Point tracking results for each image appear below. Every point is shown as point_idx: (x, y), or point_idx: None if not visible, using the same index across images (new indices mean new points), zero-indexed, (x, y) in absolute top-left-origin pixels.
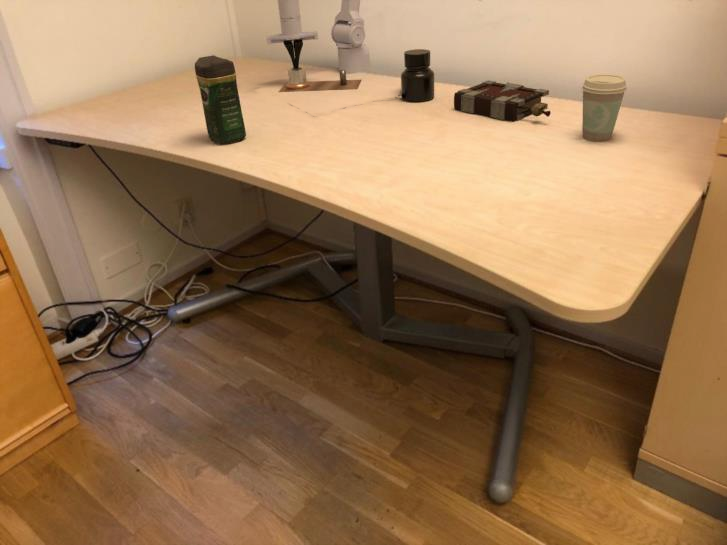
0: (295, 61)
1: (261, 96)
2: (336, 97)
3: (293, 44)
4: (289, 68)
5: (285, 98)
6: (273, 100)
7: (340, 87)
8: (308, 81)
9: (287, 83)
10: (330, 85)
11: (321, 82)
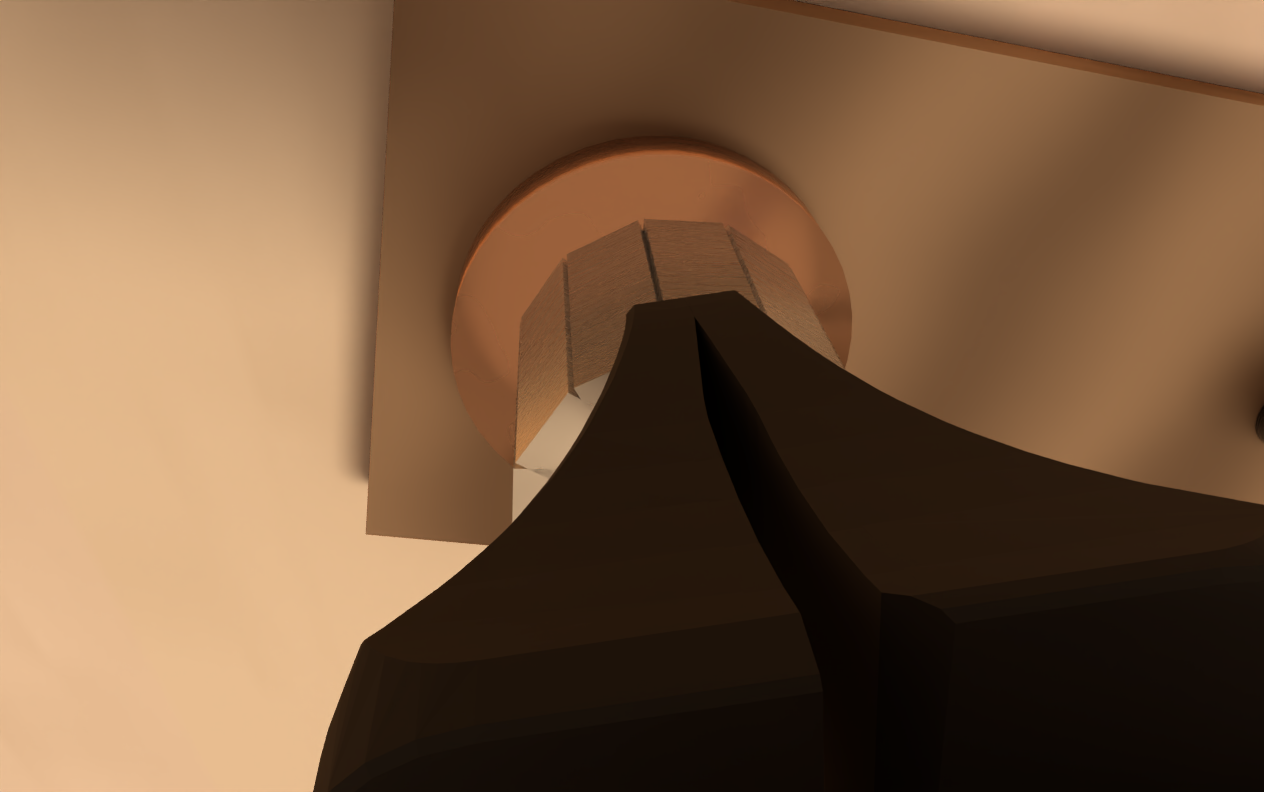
0: (717, 439)
1: (90, 389)
2: None
3: (846, 605)
4: (540, 431)
5: (480, 545)
6: (337, 588)
7: None
8: (846, 308)
9: (477, 334)
10: (1127, 398)
11: (1060, 184)
